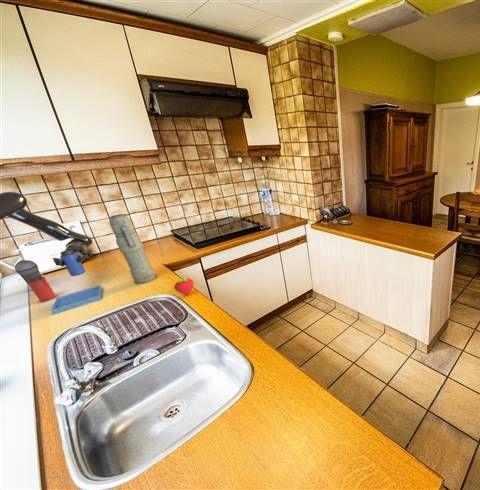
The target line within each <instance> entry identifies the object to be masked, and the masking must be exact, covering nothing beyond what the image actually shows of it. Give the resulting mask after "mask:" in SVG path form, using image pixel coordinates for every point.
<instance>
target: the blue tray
mask: <svg viewBox="0 0 480 490" xmlns="http://www.w3.org/2000/svg"><path fill="white" fill-rule="evenodd" d="M102 293H103V287H102V285H96V286H93V287H89V288H86V289H81V290H79V291H75V292H72V293H69V294H65V295H61V296H58V297H55V301H54V302H53V305H52V308H51V313H52V314H54V315H55V314H58V313H61V312H64V311H67V310H71V309H74V308H78V307H80V306H81V307H82V306H83V305H87V304H90V303H94V302H97V301H100V300H101V299H102Z"/></svg>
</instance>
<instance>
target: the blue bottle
mask: <svg viewBox="0 0 480 490" xmlns="http://www.w3.org/2000/svg"><path fill="white" fill-rule="evenodd" d="M59 258H61V259H62V261H63V262H64V264H65V266H64V267H66V269H67V272H68V273H69V275H70V277H77V276H80V275H83V274H85V273H86V272H87V270H86V269H85V267H84V265H83V263H82V262H80V263H79V261H78V259H77V258H78V256H77V254H76V252H73V250H66V251H65V250H62V251H61V252H60V257H59Z"/></svg>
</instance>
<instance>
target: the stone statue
mask: <svg viewBox="0 0 480 490" xmlns="http://www.w3.org/2000/svg"><path fill="white" fill-rule="evenodd" d="M108 222H109V223H108V224H109V226H110V229H111V230H112V232H113V234H114V235H115V242H116V243H115V244H116V245H117V247H118V249H119V252H120V253H122V254H123V256H124V259H125V261H126V263H127V266H128V268H129V272H130V275H131V277H132V279H133V280H134V283H135V284H137V285H140V284H141V285H142V284H147V283H149V282H151V281H153V280H155V279H156V278H157V275H156V273H155V270H154V268H153V266H152V265H151V264H150V261H149V259H148V257H147V255H146V253H145V250H144V245H143V243H142V240H141V237H140V236H139V235H138V234H137V232H136V231H135V228H134V226H133V223H132V221H131V219H130V218H129V217H128V216H127V215H126V214H124V213H123V214H122V213H119V214H115V215H112V216H110V217H109V218H108Z"/></svg>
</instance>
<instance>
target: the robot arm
mask: <svg viewBox="0 0 480 490" xmlns="http://www.w3.org/2000/svg"><path fill="white" fill-rule="evenodd" d="M27 205H28V200H27V198H26V197H25V195H23V194H21V193H19V192H15V191H4V192H0V221H1V220H3V219H4V218H6V217H8V218H10V219H12V220H15V221H18V222H19V223H22V224H25V225H27V226H29V227H32V228H34V229H35V230H37V231H39V232H41V233H44V234H45V235H47V236H49V237H51V238H53V239H55V240H57V241H59V242H63V241H65V240H68V239H71V240H70V241H68V242H67V243H66V244H65V250H64V251H66V250H73V252H76V254H77V256H78V258H77V259H78V261H79V263H80V262H81V263H82V262H83V261H84V260H85V259H91V257H92V256H93V255H94V253H93V251H92V249H88V247H90V246H91V245H93V243H94V241H93V239H92V238H91V237H90V236H88V235H85V234H82V233H79V232H76V231H73V230H72V229H70V228H67V227H66V226H64V225H62V224H60V223H59V222H56V221H54V220H52V219H49V218H46V217H43V216H40V215H37V214H34V213H32V212H31V211H28V210H26V209H25V208H26V207H27ZM52 261H53V262H54V264H55V266H60V267H66V266H65V264H64V262H63V261H62V259H61V257H53V258H52Z"/></svg>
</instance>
